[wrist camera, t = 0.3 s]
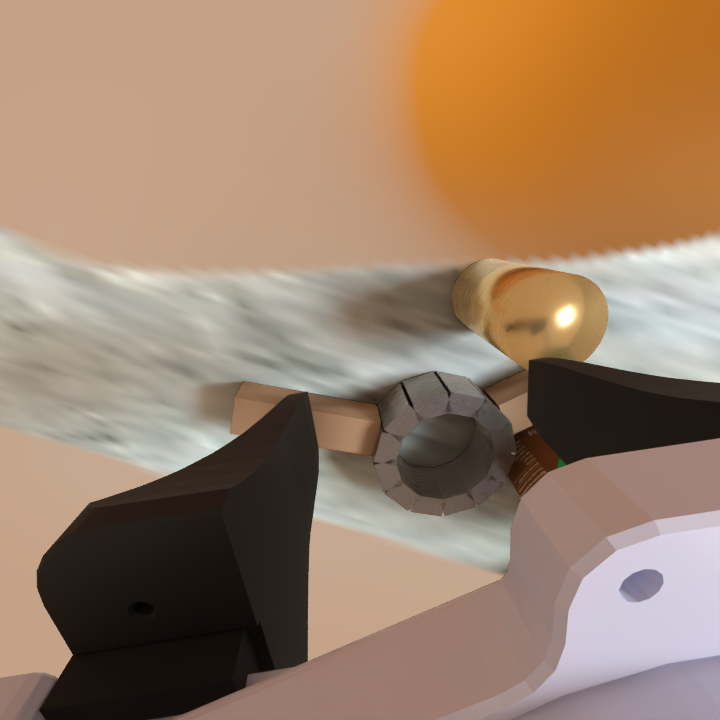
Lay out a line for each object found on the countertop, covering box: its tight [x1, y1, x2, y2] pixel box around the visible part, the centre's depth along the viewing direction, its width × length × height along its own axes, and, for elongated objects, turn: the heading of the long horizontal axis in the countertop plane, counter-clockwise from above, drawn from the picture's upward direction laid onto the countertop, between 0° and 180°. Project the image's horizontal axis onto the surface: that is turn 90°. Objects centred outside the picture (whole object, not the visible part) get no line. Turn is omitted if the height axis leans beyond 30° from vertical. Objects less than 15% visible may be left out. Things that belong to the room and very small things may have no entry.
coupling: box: [230, 369, 533, 516], centre depth 21 cm, size 15×16×3 cm
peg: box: [452, 259, 608, 370], centre depth 17 cm, size 4×4×7 cm
